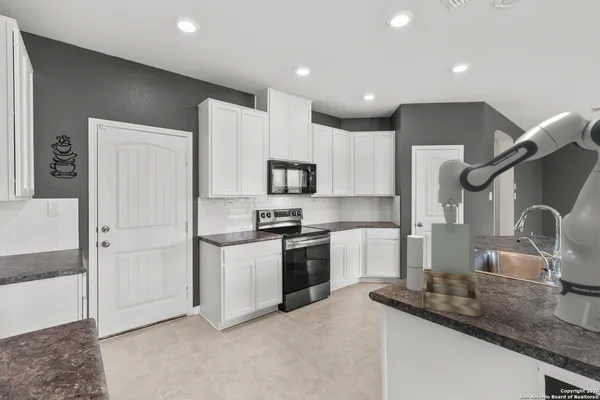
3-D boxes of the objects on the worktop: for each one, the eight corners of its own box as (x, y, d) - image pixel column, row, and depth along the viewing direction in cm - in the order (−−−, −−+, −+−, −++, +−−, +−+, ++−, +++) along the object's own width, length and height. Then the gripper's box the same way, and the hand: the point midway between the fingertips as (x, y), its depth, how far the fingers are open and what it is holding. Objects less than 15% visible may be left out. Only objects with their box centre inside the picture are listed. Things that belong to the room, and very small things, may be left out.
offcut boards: (465, 306, 113) (466, 274, 113) (467, 312, 108) (468, 279, 107) (433, 301, 118) (433, 271, 118) (432, 307, 113) (433, 275, 112)
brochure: (468, 285, 138) (469, 224, 137) (474, 289, 133) (475, 226, 132) (438, 284, 140) (439, 224, 139) (443, 288, 134) (444, 225, 133)
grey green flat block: (468, 281, 117) (468, 224, 116) (468, 283, 115) (469, 224, 114) (431, 277, 123) (431, 222, 122) (431, 278, 121) (431, 223, 120)
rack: (475, 302, 118) (475, 273, 117) (480, 317, 104) (481, 285, 103) (423, 294, 126) (423, 268, 126) (421, 307, 112) (422, 277, 112)
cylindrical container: (421, 286, 137) (422, 235, 136) (424, 291, 130) (424, 238, 129) (406, 285, 139) (406, 235, 138) (407, 290, 132) (408, 237, 131)
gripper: (460, 199, 107) (460, 235, 107) (456, 198, 125) (456, 229, 126) (442, 199, 110) (441, 234, 110) (441, 198, 128) (441, 228, 129)
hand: (449, 231), depth 118 cm, fingers closed on grey green flat block, 2 cm apart
